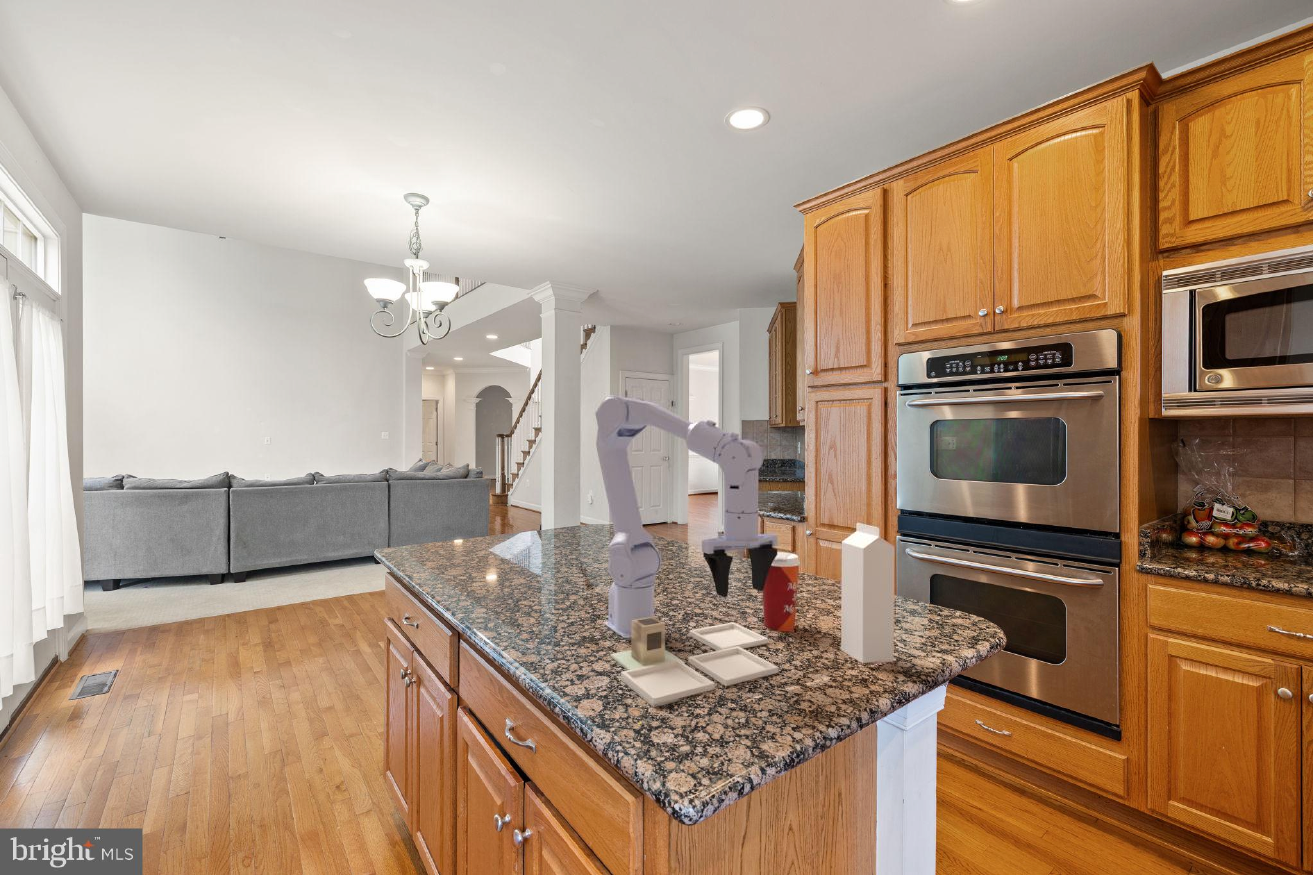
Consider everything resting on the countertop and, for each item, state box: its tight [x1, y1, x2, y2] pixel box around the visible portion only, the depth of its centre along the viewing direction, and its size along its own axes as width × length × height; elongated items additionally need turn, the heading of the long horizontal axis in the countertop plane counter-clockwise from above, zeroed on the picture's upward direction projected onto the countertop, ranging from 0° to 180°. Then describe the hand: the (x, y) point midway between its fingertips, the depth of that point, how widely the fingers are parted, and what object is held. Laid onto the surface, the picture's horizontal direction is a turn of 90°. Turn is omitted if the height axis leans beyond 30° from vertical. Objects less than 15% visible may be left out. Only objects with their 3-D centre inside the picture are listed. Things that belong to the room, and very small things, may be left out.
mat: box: [609, 649, 686, 671], centre depth 92 cm, size 9×9×1 cm
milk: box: [840, 522, 895, 665], centre depth 95 cm, size 6×6×22 cm
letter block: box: [630, 616, 666, 665], centre depth 92 cm, size 4×4×6 cm
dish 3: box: [687, 646, 780, 687], centre depth 89 cm, size 10×10×1 cm
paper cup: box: [762, 551, 802, 632], centre depth 109 cm, size 8×8×14 cm
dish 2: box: [688, 621, 769, 651], centre depth 102 cm, size 10×10×1 cm
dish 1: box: [620, 659, 715, 708], centre depth 83 cm, size 10×10×1 cm
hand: (740, 592), depth 95 cm, fingers open, 7 cm apart
